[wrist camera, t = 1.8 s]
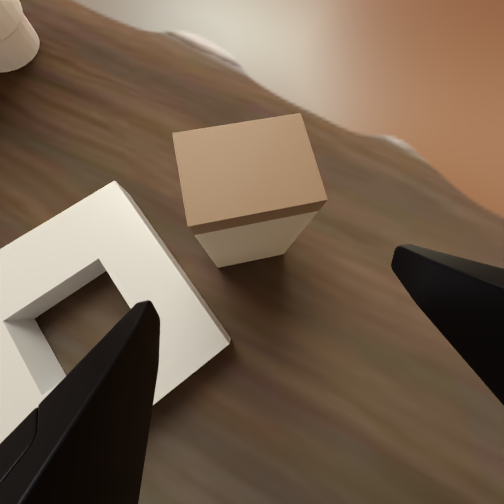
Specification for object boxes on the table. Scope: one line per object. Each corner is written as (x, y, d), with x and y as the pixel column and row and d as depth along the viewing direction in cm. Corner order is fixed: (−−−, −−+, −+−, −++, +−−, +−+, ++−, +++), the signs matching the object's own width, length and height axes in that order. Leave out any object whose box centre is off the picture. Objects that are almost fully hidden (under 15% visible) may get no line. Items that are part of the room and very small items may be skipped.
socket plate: (231, 338, 19) (229, 344, 16) (48, 484, 16) (14, 516, 14) (129, 194, 21) (114, 180, 19) (-43, 301, 19) (-86, 300, 16)
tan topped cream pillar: (283, 254, 20) (327, 199, 10) (217, 267, 20) (187, 226, 9) (272, 208, 21) (300, 112, 11) (209, 220, 21) (172, 133, 10)
